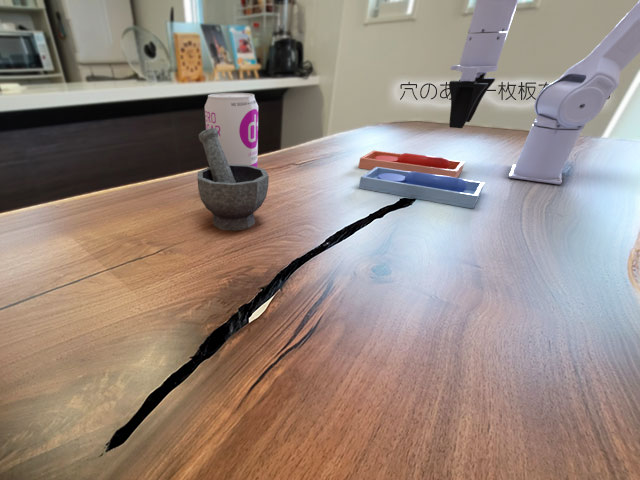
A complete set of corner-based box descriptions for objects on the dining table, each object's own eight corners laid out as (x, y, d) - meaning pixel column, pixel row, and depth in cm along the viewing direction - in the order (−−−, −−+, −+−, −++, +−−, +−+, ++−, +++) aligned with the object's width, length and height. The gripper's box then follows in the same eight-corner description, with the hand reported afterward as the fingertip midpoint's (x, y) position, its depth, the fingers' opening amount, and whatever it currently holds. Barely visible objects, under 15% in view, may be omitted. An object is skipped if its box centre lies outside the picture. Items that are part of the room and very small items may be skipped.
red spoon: (449, 169, 71) (453, 156, 70) (444, 175, 68) (448, 161, 67) (378, 160, 78) (380, 147, 77) (370, 165, 75) (373, 151, 74)
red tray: (371, 159, 81) (373, 150, 79) (461, 172, 72) (464, 161, 71) (358, 167, 75) (359, 157, 74) (453, 182, 66) (457, 171, 65)
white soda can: (265, 190, 64) (268, 93, 55) (240, 204, 58) (239, 99, 49) (227, 183, 67) (224, 91, 59) (200, 196, 62) (192, 96, 53)
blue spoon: (465, 191, 60) (471, 176, 59) (460, 199, 57) (466, 183, 56) (381, 178, 67) (384, 164, 66) (372, 184, 64) (375, 169, 63)
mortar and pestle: (280, 223, 51) (285, 132, 45) (230, 242, 47) (227, 143, 40) (230, 203, 59) (228, 122, 52) (182, 218, 54) (173, 130, 47)
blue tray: (374, 177, 70) (376, 166, 68) (480, 194, 61) (485, 182, 60) (358, 188, 64) (360, 176, 63) (472, 208, 55) (477, 196, 54)
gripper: (467, 35, 65) (444, 117, 73) (451, 33, 56) (427, 128, 64) (513, 33, 62) (484, 120, 70) (504, 31, 52) (472, 132, 60)
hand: (459, 124), depth 66 cm, fingers open, 7 cm apart
